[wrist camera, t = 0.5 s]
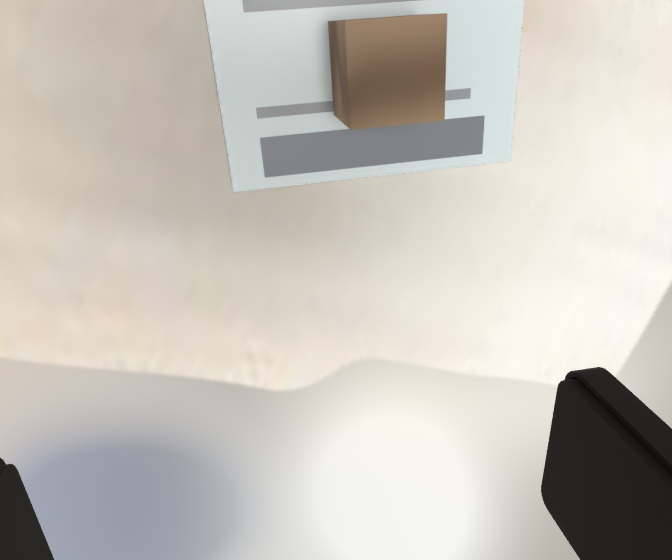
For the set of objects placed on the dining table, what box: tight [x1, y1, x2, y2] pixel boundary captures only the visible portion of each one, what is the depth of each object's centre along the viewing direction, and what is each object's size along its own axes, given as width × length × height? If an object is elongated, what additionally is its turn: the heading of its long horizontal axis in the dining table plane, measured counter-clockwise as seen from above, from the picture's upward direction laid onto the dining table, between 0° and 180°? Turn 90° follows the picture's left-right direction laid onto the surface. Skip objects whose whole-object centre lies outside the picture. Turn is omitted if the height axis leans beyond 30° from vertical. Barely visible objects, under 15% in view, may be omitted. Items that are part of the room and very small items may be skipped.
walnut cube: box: [328, 13, 447, 130], centre depth 28 cm, size 5×5×5 cm
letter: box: [204, 0, 524, 192], centre depth 31 cm, size 13×18×1 cm
